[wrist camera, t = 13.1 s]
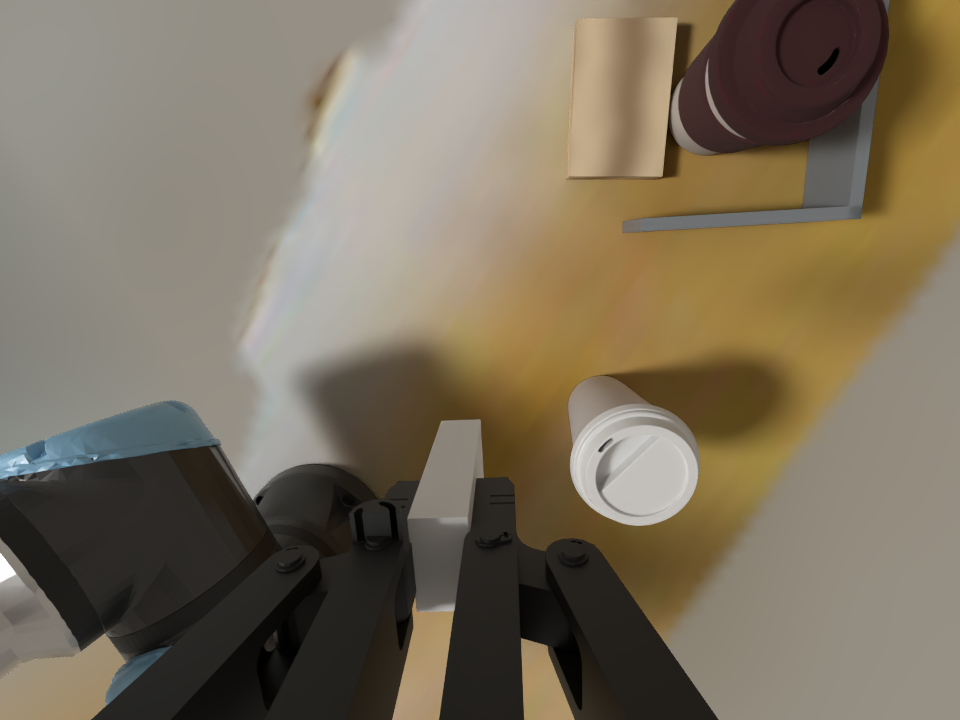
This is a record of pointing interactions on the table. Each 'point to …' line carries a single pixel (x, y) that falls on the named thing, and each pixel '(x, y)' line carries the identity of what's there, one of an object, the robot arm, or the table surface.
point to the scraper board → (620, 97)
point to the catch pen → (827, 183)
